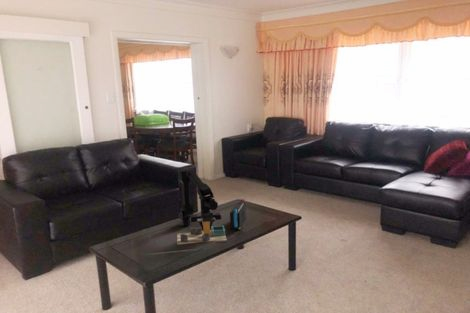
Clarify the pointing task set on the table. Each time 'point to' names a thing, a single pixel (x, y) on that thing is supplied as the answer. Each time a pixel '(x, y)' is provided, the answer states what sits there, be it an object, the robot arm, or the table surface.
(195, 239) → the board
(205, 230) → the plug block
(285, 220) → the table surface
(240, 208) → the game console
